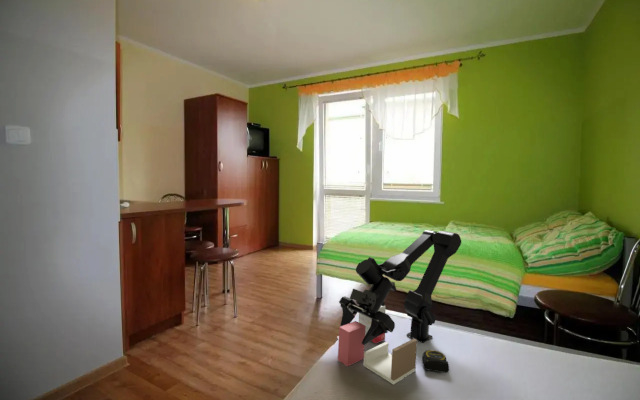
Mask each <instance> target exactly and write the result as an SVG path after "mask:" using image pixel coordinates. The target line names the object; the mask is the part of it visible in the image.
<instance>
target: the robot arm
mask: <svg viewBox="0 0 640 400" xmlns="http://www.w3.org/2000/svg"><path fill="white" fill-rule="evenodd" d="M461 244H462V239H461V236H460V234H458V233H456V232H451V231H446V230H440V231H434V230H431V229H425V230H424V231H423V232H422V234H421V235H420V236H419V237H417V238H416V239H415V240H414V241H413V242H412V243H411V244H410V245H409V246H407V248H405V250H403V251H402V252H401V253H399V254H395V255H393V256H390V257H389V258H388V259H386V260H385V261H384V262H382V263H378V262H377V261H376V260H375V258H373V257H372V256H369V257H368V258H367V259H364V260H362V261H361V262H358V264H357V265H356V266H355V273H356V274H357V275H358V276H359V277H360V278H361V279H362V280H363V281H364V282H365V283H366V284H367V285H369V286H370V287H369V288H368V289H364V290H363V291H361V290H358V289H356V288H352V291H351V294H350V296H349V297H347V296H346V295H345V296H342V297H340V300H339V301H338V303H339V305H340V307H341V309H342V315H341V319H340V320H341V322H340V326H339V327H341V326H343V325H346V324H349V323H352V322H353V320H354V319H355V317H356V316H355V315H356V314H359V313H360V314H362V315H364V316H367V317H369V318H371V319H372V321H371V326H370V328H369V330H368V332H367V333H366V335H365V337H364V339H363V341H362V344H363V345H365V346H366V345H367V344H368V343H370V342H372V341H371V340H373V339H374V338H376V337H377V336H379V335H381V334H383V333H385V334H388V332H390V333H393V332H394V330H395V328H396V323H395V322H394V320H393V319H392V318H391V316H390V315H389V314H387V313H386V312H385V313H383V312H381V311H378V310H379V309H380V307H381V306H386V303H385V300H386V298H387V296H388V295H389V292H390V291H393V292H396V291H397V286H396V282H402V281H404V279H405V278H406V277H407V276H408V274H409V273H410V271H411V267H412V265H413V264H414V263H415V262H416V261H417V260H419V259H420V257H421V256H423V254H425V253H426V252H427V251H428V250H429V249H430V248H431V247H433V254H432V256H431V259H430V260H429V263H428V265H427V267H426V269H425V271H424V274H423V275H422V277H421V280H420V282H419V283H418V286H417V288H416V289H414V290H411V289H410V290H408V292H407V295H406V297H405V298H404V302H403V303H404V304H403V306H404V310H405V312H406V315H407V316H408V317H410V318H411V324H410V331H409V332H408V333H407V334H406V336H407V337H409V338H411V339H416V340H417V342H419V343H422V344H423V343H425V342H427V341H430V340H431V339H433V335H431V334H429V331H430V326H432V325H434V324H435V323H436V319H437V316H436V315H435V314H434V313H433V311H431V310H432V307H433V299H432V295H433V293H434V290H435V288H436V286H437V284H438V281H439V279H440V277H441V275H442V272H443V270H444V268H445V266H446V264H447V262H448V260H449V258H450V257H452V256H453V255H455V254H456V253H457V251H458V250H459V248H460V247H461ZM390 279H392V280H393V281H391V280H390ZM394 281H396V282H394ZM354 300H355V301H354ZM357 304H358V305H357ZM363 311H364V312H363ZM369 314H370V315H369Z"/></svg>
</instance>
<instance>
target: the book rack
mask: <svg viewBox="0 0 640 400" xmlns="http://www.w3.org/2000/svg"><path fill="white" fill-rule="evenodd" d="M417 346H418V341H417V340H416V339H413V338H411V339H410V340H408V341H406V342H404V343H402V344H400V345H398V346H395V348H392V350H391V353H389V342H387V341H385V342H383V343H380V344H378V345H376V346H374V347H372V348H370V349H368V350H366V351H365V350H364V359H363V367H365V368H367V369H368V370H370V371H371V372H373V373H374V374H376V375H378V376H379V377H381V378H382V379H384V380H385V381H388V382H389V383H391V384H392V385H395V384H396V383H397V384H398V382H400V381H402V380H403V379H405V378H407V377H408V376H409V374H410V373H411V374H413V373H414V372H416V362H417V361H416V360H417ZM412 372H413V373H412ZM411 374H410V375H411ZM407 375H408V376H407ZM404 377H405V378H404Z"/></svg>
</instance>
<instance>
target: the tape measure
mask: <svg viewBox="0 0 640 400" xmlns="http://www.w3.org/2000/svg"><path fill="white" fill-rule="evenodd" d="M421 361H422V362H421V363H422V366H423V368H424V369H425V370H427V371H434V372H441V373H449V372H450V365H449V362H448V361H447V357H446V355H445V354H444V353H442V352H440V351H438V350H435V349H428V350H425V351H424V352H423V353H422V356H421Z"/></svg>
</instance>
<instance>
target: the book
mask: <svg viewBox="0 0 640 400" xmlns="http://www.w3.org/2000/svg"><path fill="white" fill-rule="evenodd" d="M365 327H366V326H365V325H363V324H361V323H359V321H357V320H355V321H351V322H350V323H349V324H346V325H343V326H341V327H340V326H339V328H338V348H337V361H338V362H340V363H342V364H343V365H344V366H345V367H349V366H352V365H353V364H356V363H358V362H360V361H362V360H364V352H365V346H366V344H365V345H363V344H362V341H363V339H364V337H365Z"/></svg>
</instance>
